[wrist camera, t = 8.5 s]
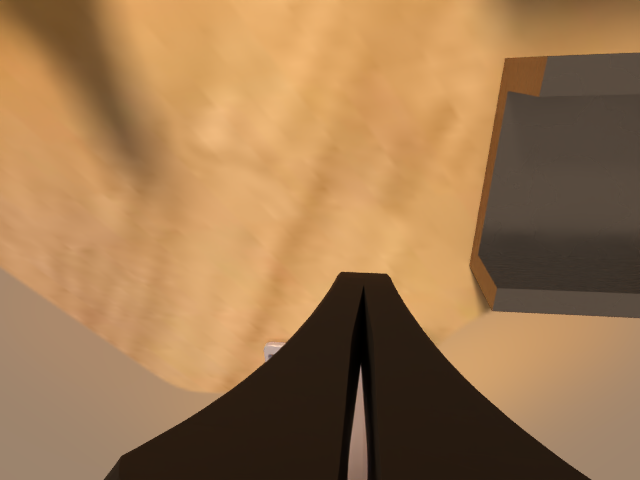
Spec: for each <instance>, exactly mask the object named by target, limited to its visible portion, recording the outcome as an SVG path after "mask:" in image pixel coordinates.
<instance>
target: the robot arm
mask: <svg viewBox="0 0 640 480" xmlns="http://www.w3.org/2000/svg"><path fill="white" fill-rule="evenodd" d="M270 354H273V356H272V355H270ZM264 356H265V363H264V364H263V365H262V366H260V367H259V368H258V369H257V370H256V371H254V372H253V373H252V374H251V375H250V376H248V377H247V378H246V379H245V380H243V381H242V382H241V383H239V384H238V385H237V386H236V387H234V388H233V389H232V390H230V391H229V392H227V393H226V394H224V395H223V396H221V397H220V398H218V399H217V400H216V401H214V402H213V403H211V404H210V405H209V406H207V407H205V408H204V409H202V410H201V411H199V412H198V413H196V414H195V415H193V416H191V417H190V418H188V419H187V420H185V421H183V422H182V423H180V424H178V425H176V426H175V427H173V428H171V429H169V430H168V431H166V432H164V433H162V434H160V435H159V436H157V437H155V438H153V439H152V440H150V441H148V442H146V443H145V444H143V445H141V446H139V447H138V448H136V449H134V450H132V451H130V452H128V453H126V454H124V455H122V456H121V457H120V459H119V460H118V462H117V463H116V465H115V466H114V467H113V468H112V470H111V471H110V473H109V474H108V475H107V476H106V478H105V479H104V480H591V479H589V478H588V477H587V476H585V475H584V474H582V473H581V472H579V471H578V470H576V469H575V468H573V467H572V466H571V465H569V464H568V463H566V462H565V461H563V460H562V459H561V458H560V457H558V456H557V455H555V454H554V453H553V452H552V451H550V450H549V449H548V448H546V447H545V446H543V445H542V444H541V443H540V442H538V441H537V440H536V439H535V438H533V437H532V436H531V435H530V434H528V433H527V432H526V431H524V430H523V429H522V428H521V427H519V426H518V425H517V424H516V423H514V422H513V421H512V420H511V419H510V418H508V417H507V416H506V415H505V414H504V413H503V412H502V411H500V410H499V409H498V408H497V407H496V406H495V405H494V404H492V403H491V402H490V401H489V400H488V399H487V398H485V397H484V396H483V395H482V394H481V393H480V392H479V391H478V390H477V389H475V387H474V386H472V385H471V384H470V383H469V382H468V381H467V380H466V379H465V378H464V377H463V376H462V375H461V374H460V373H459V371H458V370H457V369H456V368H455V367H454V366H453V365H452V364H451V363H450V362H449V361H448V360H447V359H446V358H445V357H444V355H443V354H442V353H441V352H440V351H439V349H438V348H437V347H436V346H435V345H434V343H433V342H432V341H431V340H430V338H429V337H428V336H427V335H426V333H425V332H424V331H423V329H422V328H421V327H420V325H419V324H418V323H417V321H416V320H415V318H414V317H413V315H412V314H411V313H410V311H409V310H408V308H407V307H406V305H405V303H404V302H403V300H402V299H401V297H400V295H399V294H398V292H397V290H396V288H395V286H394V284H393V282H392V280H391V278H390V277H389V276H388V275H387V274H378V273H356V272H341V273H340V274H339V275H338V276H337V278H336V280H335V281H334V283H333V285H332V287H331V288H330V290H329V291H328V293H327V294H326V296H325V297H324V299H323V300H322V301H321V303H320V304H319V305H318V307H317V308H316V309H315V311H314V312H313V313H312V314H311V316H310V317H309V318H308V319H307V320H306V322H305V323H304V324H303V325H302V326H301V327H300V328H299V330H298V331H297V332H296V333H295V334H294V335H293V336H292V337H291V338H290V339H289V340H288V341H287V342H286V343H284V342H268V343H266V345H265V347H264Z"/></svg>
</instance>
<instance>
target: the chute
mask: <svg viewBox="0 0 640 480" xmlns="http://www.w3.org/2000/svg"><path fill="white" fill-rule="evenodd" d="M469 266H470V268H471V270H472V272H473V274H474V276H475V278H476V280H477V282H478V284H479V286H480V288H481V290H482V292H483V294H484V296H485V298H486V300H487V302H488V304H489V306H490V308H491V310H492V311H503V312H522V313H523V312H524V313H545V314H566V315H586V316H587V315H588V316H608V317H629V318H640V53H619V54H593V55H567V56H543V57H524V58H505V63H504V68H503V74H502V80H501V86H500V92H499V97H498V103H497V109H496V115H495V121H494V126H493V132H492V138H491V144H490V150H489V155H488V161H487V167H486V173H485V179H484V184H483V190H482V196H481V202H480V207H479V213H478V219H477V225H476V231H475V236H474V242H473V248H472V254H471V260H470V265H469Z"/></svg>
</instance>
